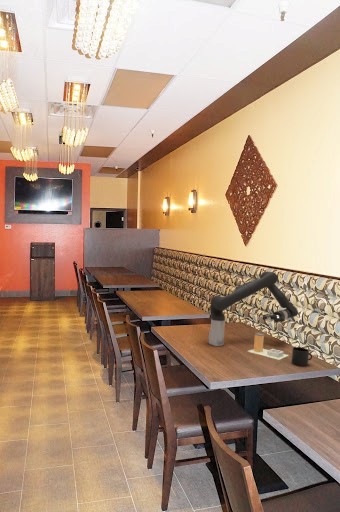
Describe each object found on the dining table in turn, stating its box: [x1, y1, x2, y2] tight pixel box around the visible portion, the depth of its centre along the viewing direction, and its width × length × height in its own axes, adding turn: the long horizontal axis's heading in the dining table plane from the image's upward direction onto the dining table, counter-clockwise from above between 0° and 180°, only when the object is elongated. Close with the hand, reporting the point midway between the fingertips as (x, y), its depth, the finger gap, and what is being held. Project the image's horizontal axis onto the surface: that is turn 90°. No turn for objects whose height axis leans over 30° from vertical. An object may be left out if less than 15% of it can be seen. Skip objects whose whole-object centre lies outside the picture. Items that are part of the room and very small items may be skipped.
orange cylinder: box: [253, 332, 265, 352], centre depth 272 cm, size 4×4×11 cm
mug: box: [291, 346, 313, 367], centre depth 255 cm, size 9×12×9 cm
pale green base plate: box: [247, 348, 289, 361], centre depth 268 cm, size 22×14×4 cm, turn 50°
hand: (269, 319), depth 280 cm, fingers open, 8 cm apart
